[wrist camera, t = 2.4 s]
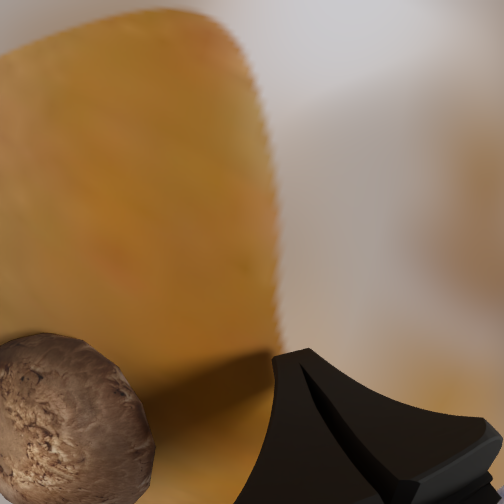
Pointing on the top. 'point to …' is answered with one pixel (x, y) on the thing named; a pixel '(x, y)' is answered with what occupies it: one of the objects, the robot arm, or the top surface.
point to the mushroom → (69, 426)
